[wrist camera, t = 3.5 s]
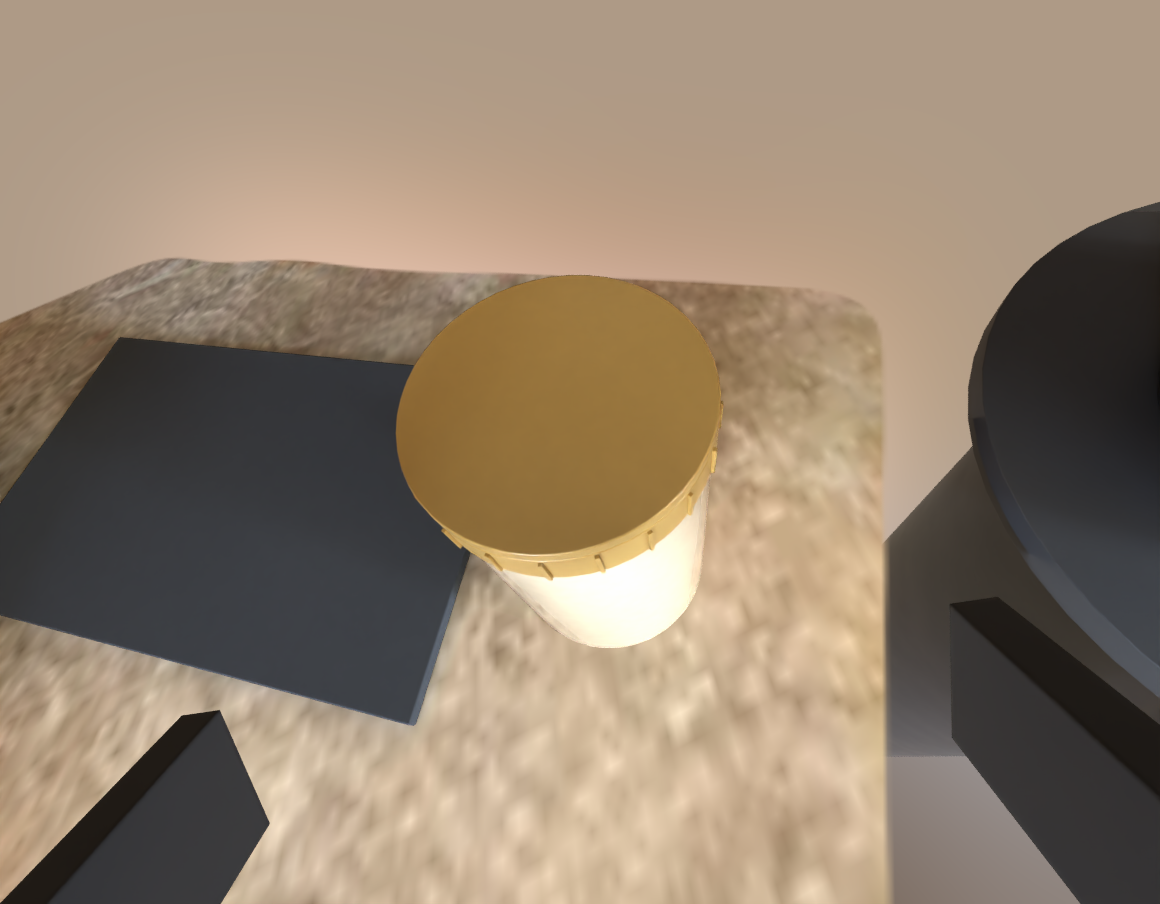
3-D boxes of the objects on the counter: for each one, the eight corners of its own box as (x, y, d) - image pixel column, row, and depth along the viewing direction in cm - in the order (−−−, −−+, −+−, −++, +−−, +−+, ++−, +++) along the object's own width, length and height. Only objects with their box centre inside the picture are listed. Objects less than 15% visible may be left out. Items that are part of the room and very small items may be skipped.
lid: (734, 325, 16) (739, 280, 14) (696, 609, 12) (698, 589, 11) (472, 307, 18) (453, 266, 16) (378, 549, 14) (342, 525, 13)
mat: (524, 382, 29) (521, 375, 28) (415, 726, 22) (409, 725, 21) (127, 342, 35) (119, 336, 35) (-54, 599, 28) (-68, 597, 28)
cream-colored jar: (713, 483, 25) (732, 298, 15) (689, 667, 21) (691, 588, 11) (546, 461, 26) (461, 283, 16) (499, 627, 23) (360, 528, 13)
